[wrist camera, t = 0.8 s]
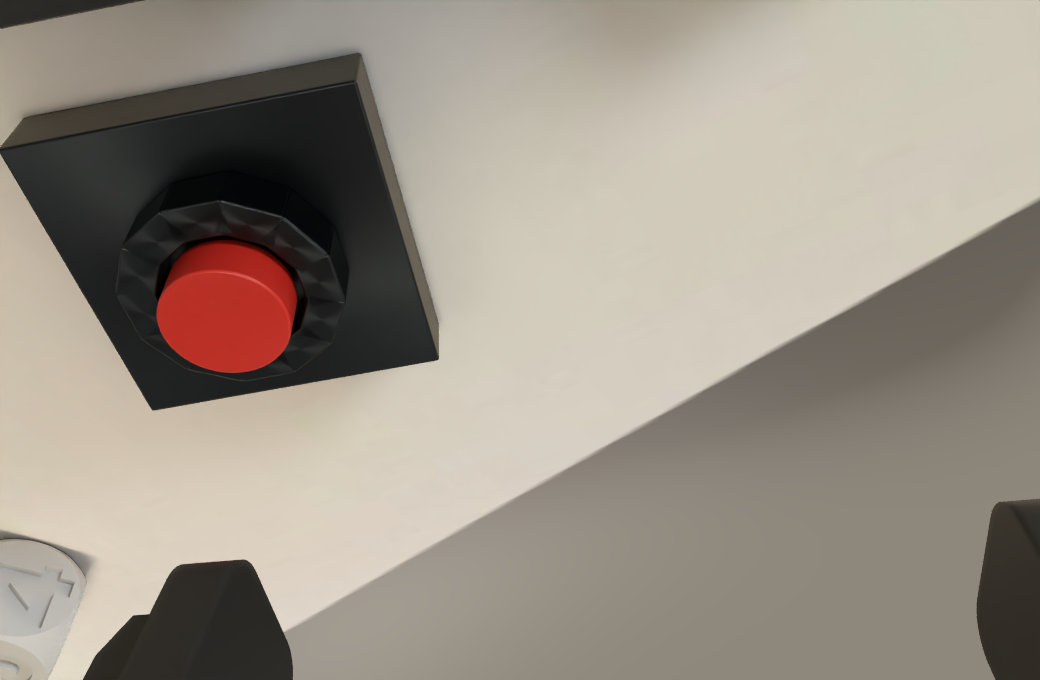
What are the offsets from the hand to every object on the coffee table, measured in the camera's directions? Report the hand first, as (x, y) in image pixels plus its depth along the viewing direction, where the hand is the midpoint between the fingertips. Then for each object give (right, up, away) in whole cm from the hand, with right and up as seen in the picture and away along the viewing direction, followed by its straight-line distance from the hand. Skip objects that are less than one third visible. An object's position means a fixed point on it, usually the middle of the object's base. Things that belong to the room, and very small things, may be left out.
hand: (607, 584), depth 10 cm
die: (-24, -8, +33) cm, 41 cm away
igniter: (-10, +7, +22) cm, 25 cm away
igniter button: (-10, +4, +19) cm, 22 cm away
